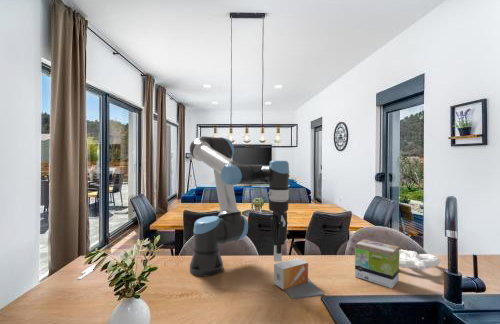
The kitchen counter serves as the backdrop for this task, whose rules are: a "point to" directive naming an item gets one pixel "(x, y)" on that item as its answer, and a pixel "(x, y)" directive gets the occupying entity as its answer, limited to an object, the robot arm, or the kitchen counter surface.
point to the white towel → (417, 260)
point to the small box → (290, 273)
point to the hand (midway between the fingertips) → (277, 260)
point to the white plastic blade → (86, 272)
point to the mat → (304, 290)
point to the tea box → (377, 262)
